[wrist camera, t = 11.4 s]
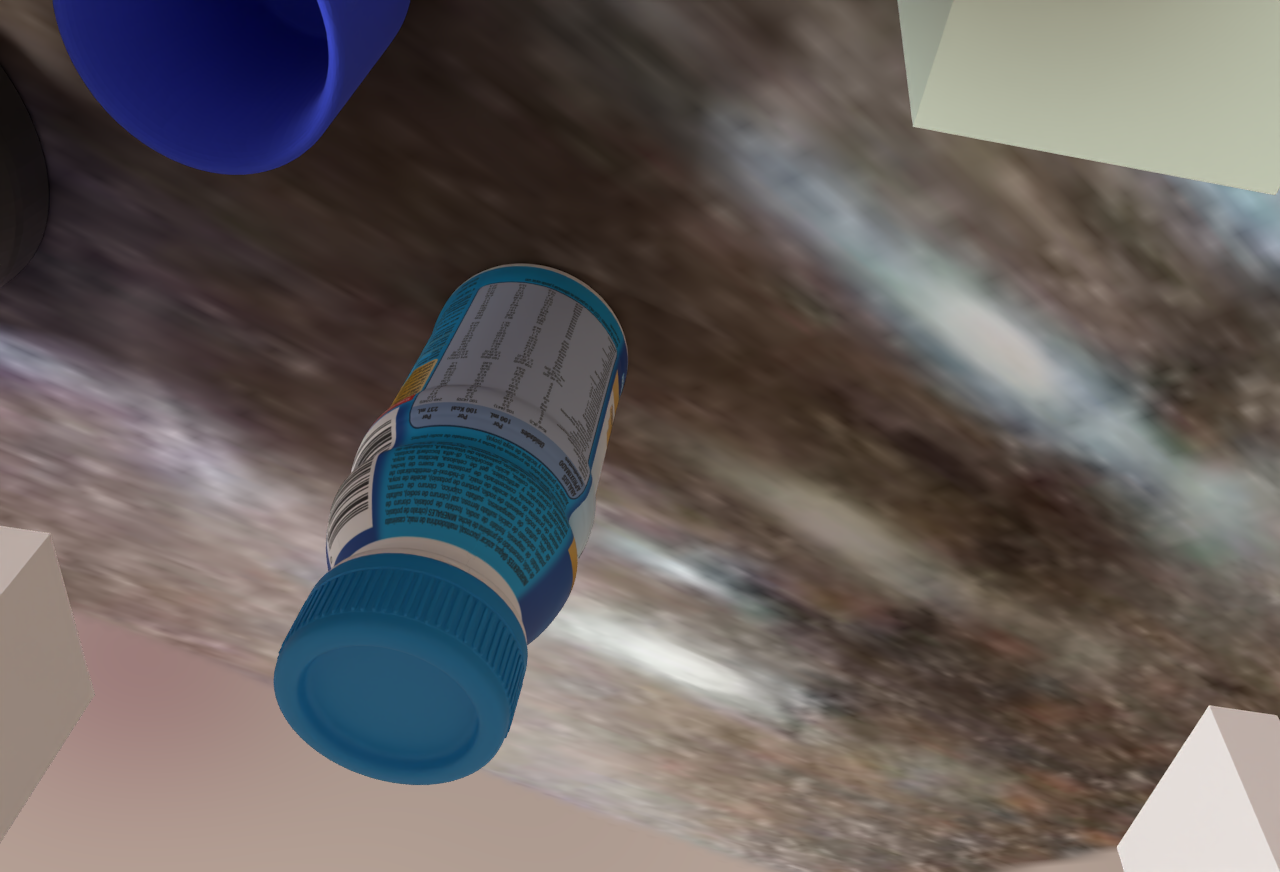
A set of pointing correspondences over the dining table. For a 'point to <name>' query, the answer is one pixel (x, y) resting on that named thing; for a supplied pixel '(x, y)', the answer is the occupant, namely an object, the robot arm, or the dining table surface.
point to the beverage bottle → (458, 531)
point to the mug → (226, 71)
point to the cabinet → (1106, 81)
